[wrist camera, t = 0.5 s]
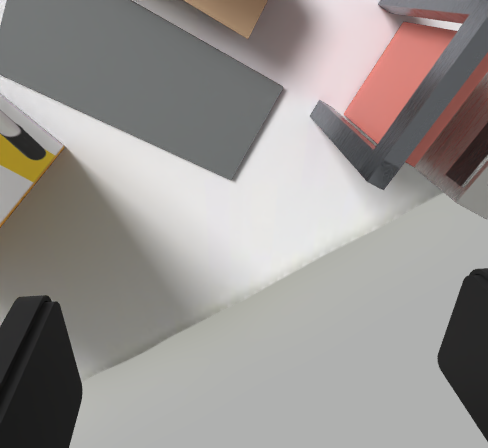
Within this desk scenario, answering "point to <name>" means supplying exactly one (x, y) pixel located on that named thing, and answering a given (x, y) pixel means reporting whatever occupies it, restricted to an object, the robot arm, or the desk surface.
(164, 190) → the desk surface
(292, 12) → the desk surface
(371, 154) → the frame
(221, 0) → the brown wooden block
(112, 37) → the rest mat
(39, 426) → the robot arm
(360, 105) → the button
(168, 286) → the desk surface
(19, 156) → the packaging box
